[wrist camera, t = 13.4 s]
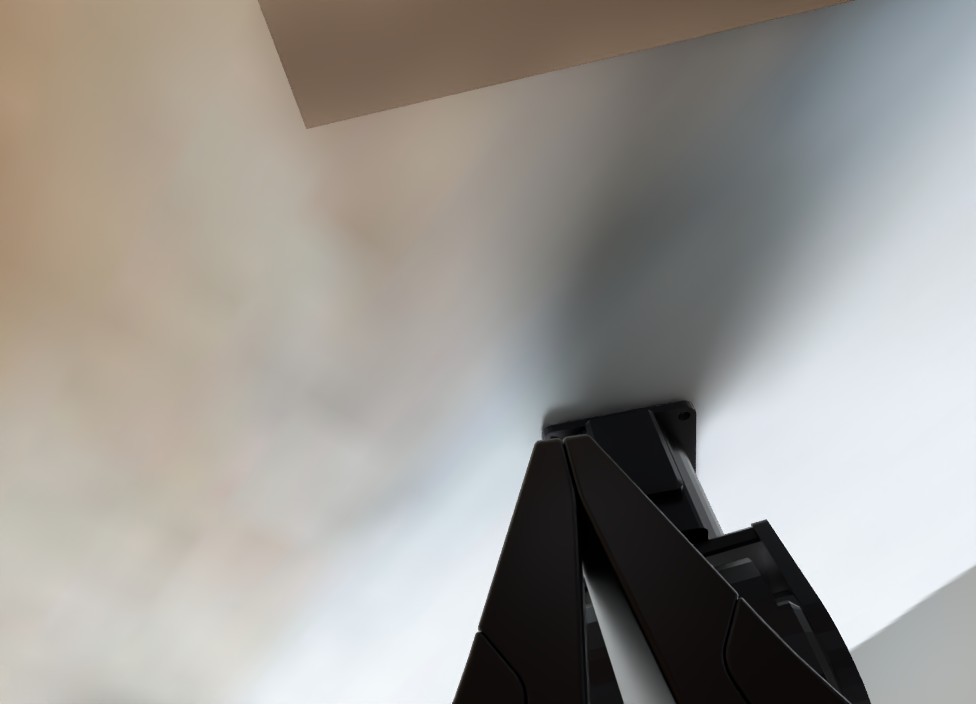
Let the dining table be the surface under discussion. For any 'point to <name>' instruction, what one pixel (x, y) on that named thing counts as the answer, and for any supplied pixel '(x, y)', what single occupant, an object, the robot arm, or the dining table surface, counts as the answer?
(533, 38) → the colouring board
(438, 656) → the dining table surface
